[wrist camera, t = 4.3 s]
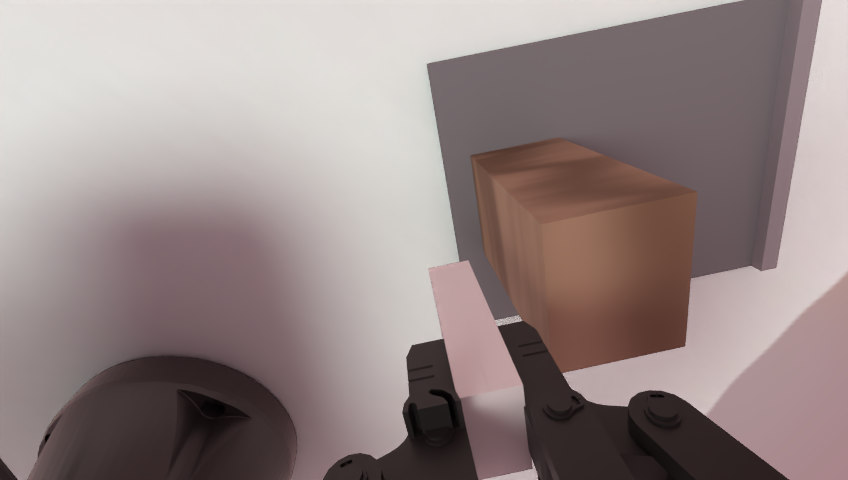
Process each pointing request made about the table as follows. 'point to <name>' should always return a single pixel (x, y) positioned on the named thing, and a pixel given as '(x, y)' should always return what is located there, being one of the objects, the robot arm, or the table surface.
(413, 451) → the robot arm
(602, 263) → the walnut block
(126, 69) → the table surface
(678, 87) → the mat
